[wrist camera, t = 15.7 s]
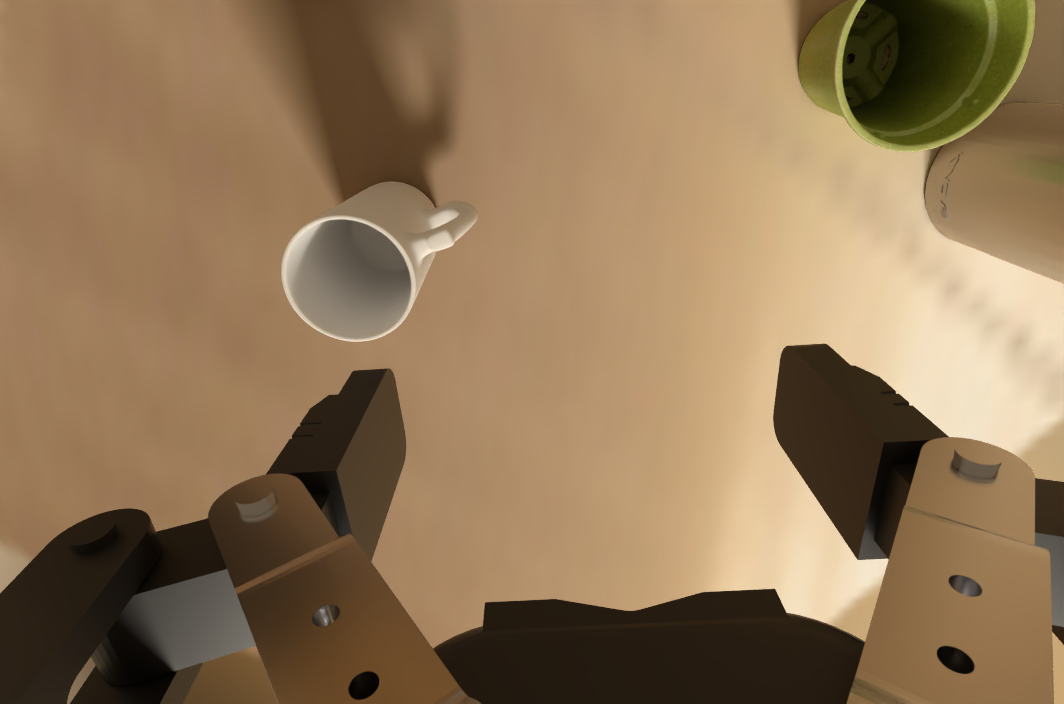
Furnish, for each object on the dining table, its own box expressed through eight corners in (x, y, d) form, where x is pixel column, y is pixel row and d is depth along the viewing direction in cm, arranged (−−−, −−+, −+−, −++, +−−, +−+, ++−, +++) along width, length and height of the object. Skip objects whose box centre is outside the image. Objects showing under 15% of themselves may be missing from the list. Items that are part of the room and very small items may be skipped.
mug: (374, 286, 43) (322, 358, 32) (329, 198, 40) (254, 244, 29) (503, 238, 41) (495, 295, 30) (465, 143, 38) (440, 168, 28)
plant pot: (779, -28, 35) (853, -59, 27) (941, -38, 34) (1064, -72, 26) (761, 140, 38) (821, 156, 31) (907, 132, 38) (1005, 146, 30)
